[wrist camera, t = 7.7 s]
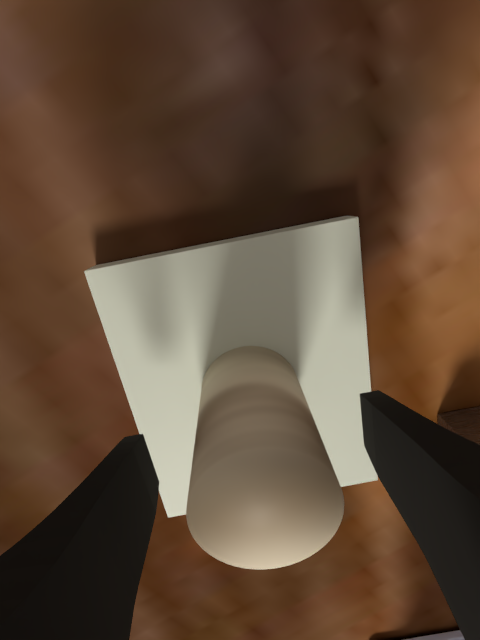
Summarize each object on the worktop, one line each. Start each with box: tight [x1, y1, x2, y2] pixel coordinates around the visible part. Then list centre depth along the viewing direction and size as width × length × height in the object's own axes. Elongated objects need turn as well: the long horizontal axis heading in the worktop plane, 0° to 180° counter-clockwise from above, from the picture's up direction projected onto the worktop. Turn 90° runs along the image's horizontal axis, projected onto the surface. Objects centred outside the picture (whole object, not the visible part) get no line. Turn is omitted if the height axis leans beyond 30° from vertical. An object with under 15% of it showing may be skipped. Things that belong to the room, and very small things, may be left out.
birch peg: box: [186, 346, 344, 569], centre depth 12 cm, size 4×4×6 cm
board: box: [84, 216, 378, 517], centre depth 15 cm, size 12×10×1 cm
